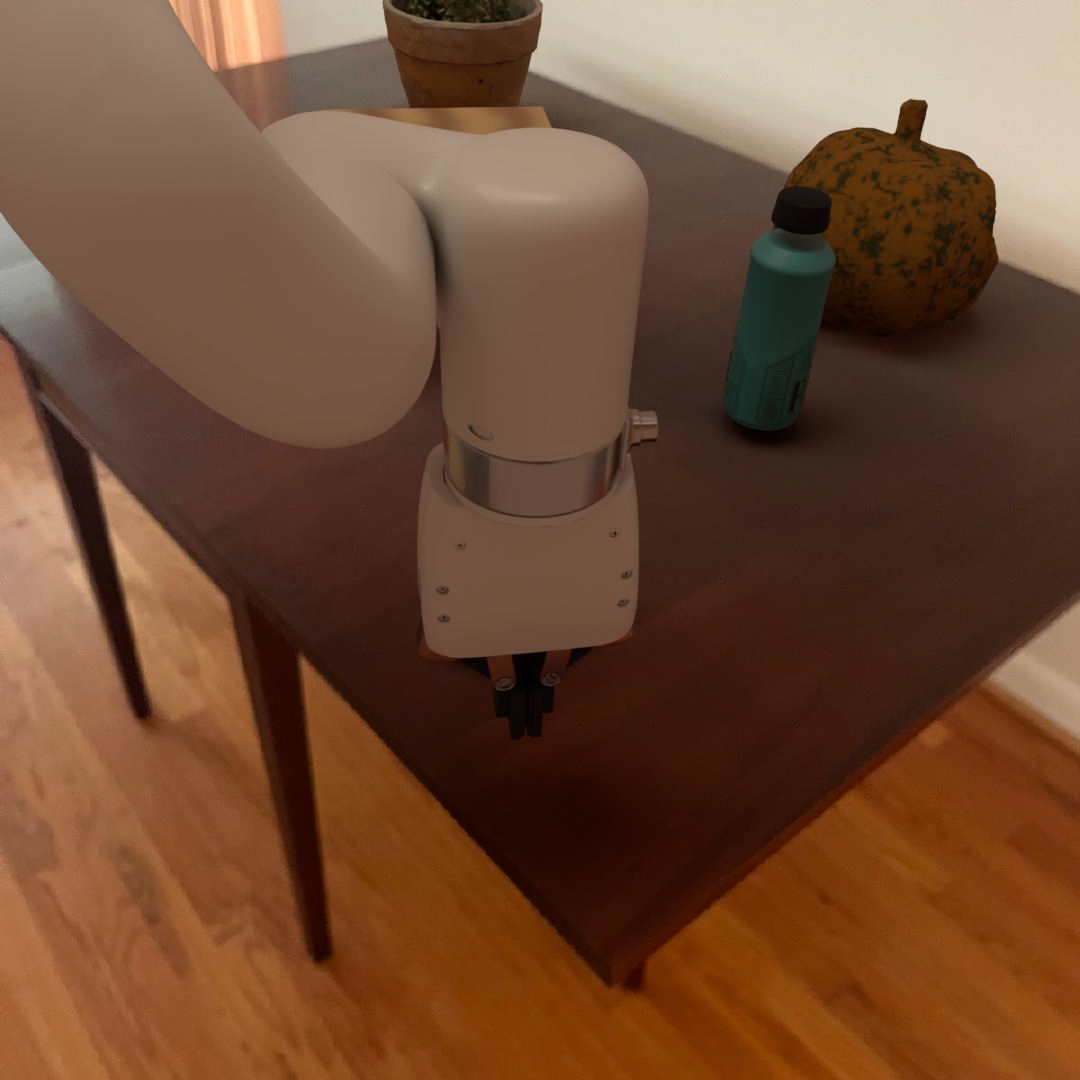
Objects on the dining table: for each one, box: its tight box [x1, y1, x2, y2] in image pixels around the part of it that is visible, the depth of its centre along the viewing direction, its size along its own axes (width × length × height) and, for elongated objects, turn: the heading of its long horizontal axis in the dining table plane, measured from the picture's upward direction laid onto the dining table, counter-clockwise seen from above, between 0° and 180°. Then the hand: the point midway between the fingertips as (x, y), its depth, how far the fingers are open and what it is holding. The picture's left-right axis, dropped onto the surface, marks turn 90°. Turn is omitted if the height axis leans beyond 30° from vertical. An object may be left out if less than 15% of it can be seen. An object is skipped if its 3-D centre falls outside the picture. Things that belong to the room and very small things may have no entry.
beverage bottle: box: [722, 186, 836, 432], centre depth 81 cm, size 6×7×20 cm
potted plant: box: [381, 0, 544, 108], centre depth 123 cm, size 18×19×25 cm
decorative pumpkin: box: [771, 98, 999, 339], centre depth 97 cm, size 20×21×20 cm
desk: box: [320, 106, 553, 135], centre depth 87 cm, size 18×12×20 cm, turn 99°
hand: (522, 716), depth 56 cm, fingers closed
